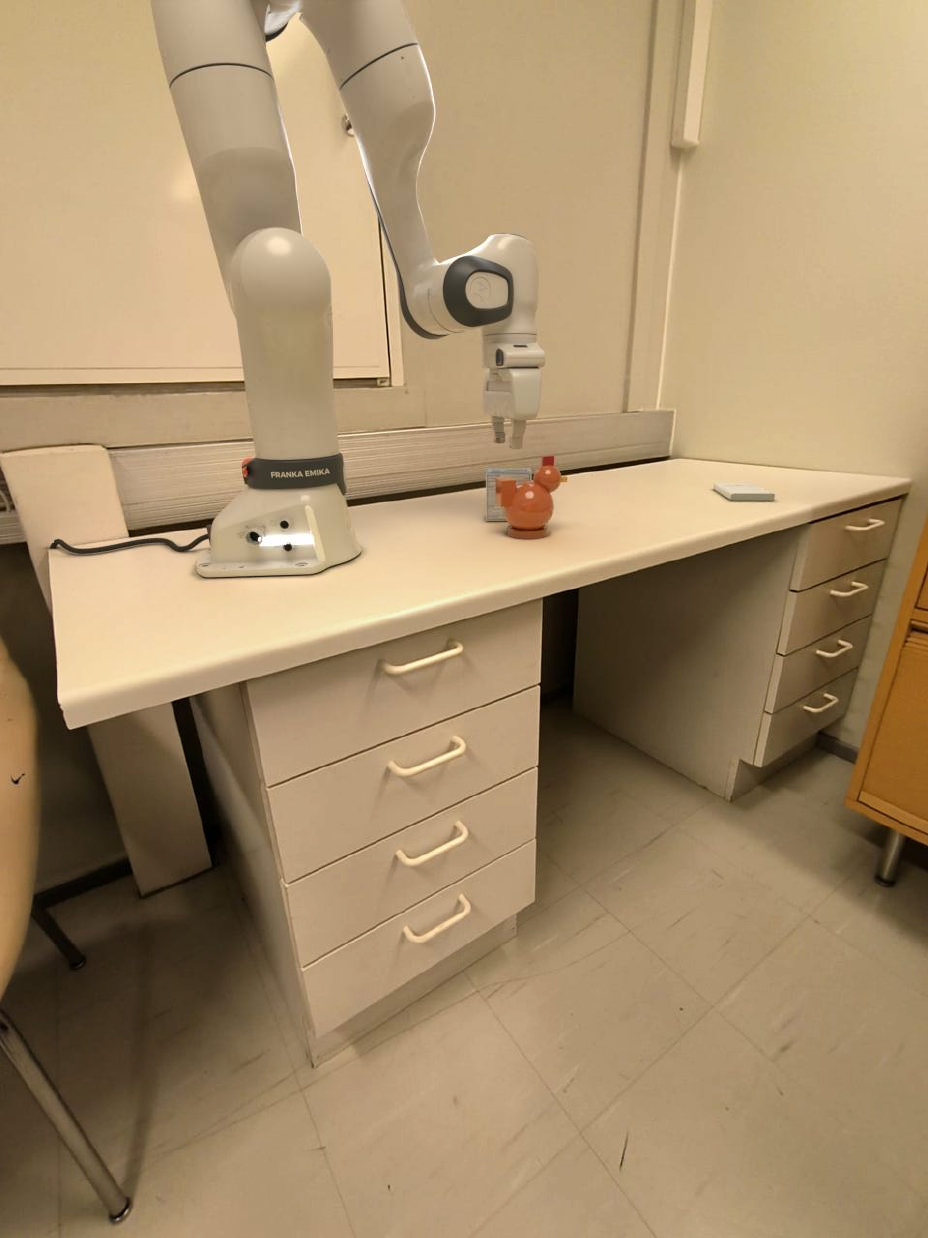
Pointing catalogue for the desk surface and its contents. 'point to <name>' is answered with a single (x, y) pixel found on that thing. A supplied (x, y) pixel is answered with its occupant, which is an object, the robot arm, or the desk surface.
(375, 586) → the desk surface
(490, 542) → the desk surface
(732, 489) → the hard drive
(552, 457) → the ceramic hen
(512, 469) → the medicine box
